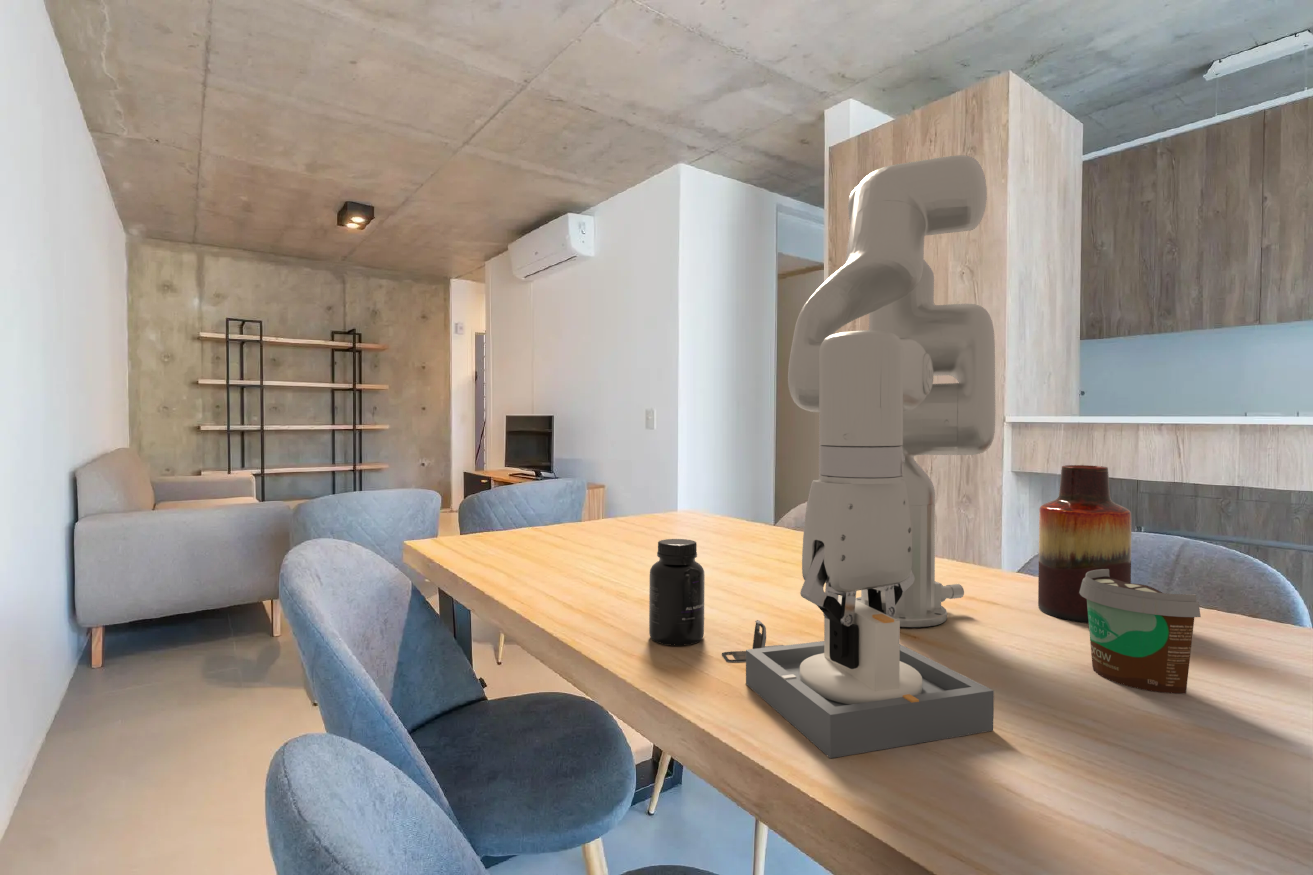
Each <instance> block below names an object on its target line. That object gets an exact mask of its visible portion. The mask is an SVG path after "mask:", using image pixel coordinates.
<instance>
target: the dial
mask: <svg viewBox="0 0 1313 875" xmlns="http://www.w3.org/2000/svg"><path fill="white" fill-rule="evenodd" d="M838 602H839V603H840V604H841V602H842V596H840V595H838ZM823 618H824V619H823V622H824V623H823V624H824V625H823V626H824V627H823V628H824V629H823V630H824V631H823V632H824V637H823V641H824V653H822V654H817V655H814V656H811V657H809V658H807V659H805V660H804V661H803V662H802V663H801V664H800V681H801V682H803V683H804V684H805V685H807V686H808V687H809V688H811V689H812V690H813V691H815V692H816V693H817V694H819V695H820V696H821V697H824V698H826V699H829V700H833V701H836V702H840V703H845V704H858V703H865V702H872V701H879V700H885V699H892V698H899V697H903V695H907V694H910V695H912V696H913V695H920V694H921V693H922V676H921V674H920V673H919V672H918V671H917V670H916V669H914V668H913V667H911V666H910V665H908V664H906V663H903V662H901V661H900V644H901V642H900V641H901V640H900V639H901V631H900V630H901V627H900V621H899V620H897V619H895V618H893V617H890V616H888V615H886V614H884V613H882V612H880V611H878V610H876V609H873V608H871V607H869V606H867V605H865V604H863V603H861V602H859V601H857V600H856V601H855V612H854V621H853V624H855V625H858V628H859V665H858V667H857V668H855V669H850V668H848V667H846V666H843V665H841V664H839V663H837V662H834V661H832V660H831V659H830V620H829V619H826V618H825V617H824V616H823Z"/></svg>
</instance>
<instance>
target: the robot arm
mask: <svg viewBox="0 0 1313 875" xmlns="http://www.w3.org/2000/svg"><path fill="white" fill-rule="evenodd" d="M987 189H988V188H987V182H986V177H985V173H984V170H983V167H982V165H981V164H980V163H979V161H978V160H977V159H976V158H974V157H972V156H969V155H964V154H963V155H962V154H961V155H959V154H958V155H948V156H942V157H935V158H929V159H923V160H918V161H917V160H916V161H910V162H903V163H897V164H893V165H892V164H891V165H887V166H884V167H880V168H877V169H875V170H874V171H872V172H870V173H869V174H866V176H865V177H863V179H862V180H861V181H860V182H859V184H858V185H857V186H855V187H854V189H853V190H851V192H850V195H849V197H848V202H847V203H848V204H847V210H848V212H847V213H848V219H849V224H850V226H849V232H848V241H847V247H846V256H845V264H843V266H841V267H839V269H837V270H836V271H835V272H834V273H832V274H831V275H830V276H829V277H828V278H826V280H825V281H824V282H823V283H822V284H821V285H820V286H819V287H818V288H817V289H816V290H815V291H814V292H813V293H812V294H811V296H810V297H809V298H808V299H807V300H806V302H805V303H804V304H803V306H802V308H801V310H800V312H799V314H798V317H797V319H796V323H795V324H794V325H795V326H794V329H793V330H794V331H793V335H792V336H793V337H792V342H791V348H790V354H789V360H788V369H787V372H788V374H787V387H788V390H789V395H790V397H791V399H792V401H793V403H794V404H795V405H796V406H798V408H800V409H802V410H805V411H807V412H811V413H818V415H819V416H818V418H819V420H818V427H819V428H818V445H819V446H818V479H813V480H812V482H811V485H810V488H809V492H808V498H807V503H806V509H805V514H804V525H803V536H802V537H803V538H802V552H801V556H802V557H801V570H802V572H801V574H802V578H803V580H804V581H803V584H802V587H801V588H800V592H799V593H800V596H801V598H804V599H805V600H806V601H809V602H811V603H812V604H814V605H816V607H818V608H819V610H821V612H822V614H823V618H824V617H825V618H826V619H829V620H830V659H831V660H832V661H834V662H837V663H839V664H841V665H843V666H846V667H848V668H850V669H855V668H857V667H858V665H859V628H858V625H855V624H853V621H854V612H855V601H856V600H857V601H859V602H861V603H863V604H865V605H867V606H869V607H871V608H873V609H876V610H878V611H880V612H882V613H884V614H886V615H888V616H890V617H893V618H895V619H897V620H899V621H900V628H926V627H934V626H937V625H941V624H943V623H945V622H946V620H947V619H948V611H947V609H946V608H945V606H943V605H942V603H943V602H945V601H946V600H947V599H950V600H953V599H954V600H955V599H961V598H963V597H964V595H965V590H964V586H962V584H960V583H954V584H947V585H943V584H942V583H941V582H938V581H935V579H936V578H935V577H936V575H935V574H936V570H935V569H936V567H935V566H936V565H935V564H936V490H935V486H934V483H933V481H932V480H931V478H930V476H929V475H928V474H927V472H926V471H925V470H924V469H923V468H922V467H921V466H920V465H919V464H918V463H917V461H916V460H915V458H914V457H916V456H925V455H926V456H973V455H974V456H976V455H980V454H982V453H985V452H986V451H987V450H989V449H990V448H991V446H992V444H993V442H994V436H995V432H996V346H995V345H996V340H995V330H994V324H993V320H992V317H991V315H990V313H989V312H988V311H987V309H986V308H984V306H981V305H978V304H975V303H974V304H973V303H950V304H935V302H934V301H935V300H934V298H935V297H934V296H935V294H934V293H935V273H934V272H933V270H932V268H931V266H930V265H929V264H928V262H927V261H926V259H924V258H925V257H924V256H925V255H924V254H925V237H926V236H932V235H942V234H951V233H961V232H969V231H973V230H975V229H976V228H977V227H978V226H979V225H980V223H981V222H982V220H983V217H984V215H985V211H986V207H987V206H986V205H987V198H988V197H987V193H988V192H987V191H988V190H987ZM866 315H868V330H867V329H866V330H851V331H842V332H837V331H839V329H841V328H843V327H844V326H846V325H848V324H850V323H851V322H853V321H855V320H857V319H859V318H862V317H864V316H866ZM836 332H837V333H836ZM935 376H936V377H937V376H940V377H941V376H950V377H953V378H954V379H956V381H957V382H950V383H947V382H946V383H934V377H935ZM824 586H825V589H824ZM857 591H858V592H859V591H860V596H858V597H857ZM838 596H842V602H841V604H840V603H839V602H838Z"/></svg>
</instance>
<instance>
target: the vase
mask: <svg viewBox="0 0 1313 875" xmlns="http://www.w3.org/2000/svg"><path fill="white" fill-rule="evenodd" d="M1058 491H1059V493H1058V496H1057V498H1055V499H1054V500H1051V501H1047V502H1045V503H1043V504H1041V506H1040V507H1039V508H1038V510H1039V512H1038V582H1037V583H1038V590H1037V591H1038V592H1037V593H1038V594H1037V595H1038V599H1037V601H1038V602H1037V604H1038V605H1037V606H1038V609H1039V610H1040V612H1042V613H1044V614H1046V615H1049V616H1052V617H1054V618H1057V619H1062V620H1065V621H1066V620H1067V621H1072V622H1077V623H1083V624H1089V620H1088V608H1087V599H1086V598H1084V597H1082V596H1081V595H1080V593H1079V592H1080V588H1081V584H1082V580H1083V578H1085V576H1086V573H1087V572H1089V571H1093V570H1100V569H1109V576H1110V578H1113V579H1116V580H1119V581H1123V582H1126V583H1132V581H1131V580H1132V511H1130V510H1129V509H1128V508H1127V507H1124V506H1122V505H1120V504H1119V503H1116V502H1114V501H1113V500H1112V498H1111V492H1110V475H1109V467H1108V466H1103V465H1102V466H1101V465H1083V464H1074V465H1072V464H1071V465H1070V464H1067V465H1062V466H1061V470H1060V481H1059V490H1058Z"/></svg>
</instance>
